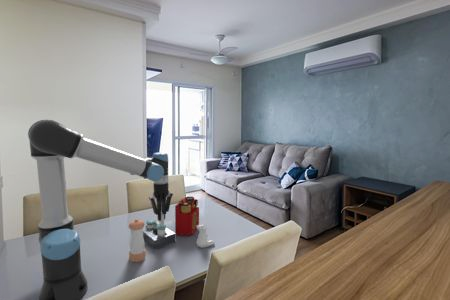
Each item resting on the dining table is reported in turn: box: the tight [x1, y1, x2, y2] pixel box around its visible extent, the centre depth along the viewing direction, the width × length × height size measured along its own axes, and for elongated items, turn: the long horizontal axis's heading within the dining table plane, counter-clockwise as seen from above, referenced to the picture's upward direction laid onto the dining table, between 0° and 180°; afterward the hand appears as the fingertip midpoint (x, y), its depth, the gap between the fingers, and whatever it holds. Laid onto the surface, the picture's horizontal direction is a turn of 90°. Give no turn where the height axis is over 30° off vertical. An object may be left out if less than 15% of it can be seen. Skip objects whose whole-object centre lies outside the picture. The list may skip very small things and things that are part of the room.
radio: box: [174, 195, 200, 237], centre depth 144 cm, size 16×10×20 cm, turn 168°
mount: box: [143, 221, 176, 251], centre depth 134 cm, size 12×20×5 cm, turn 44°
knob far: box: [145, 219, 156, 229], centre depth 138 cm, size 5×5×7 cm
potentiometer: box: [153, 220, 159, 231], centre depth 133 cm, size 3×3×5 cm
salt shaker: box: [128, 218, 146, 263], centre depth 114 cm, size 7×7×19 cm
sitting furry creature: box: [196, 223, 216, 249], centre depth 128 cm, size 10×9×12 cm
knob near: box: [157, 223, 167, 237], centre depth 129 cm, size 5×5×7 cm
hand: (161, 225), depth 128 cm, fingers closed
